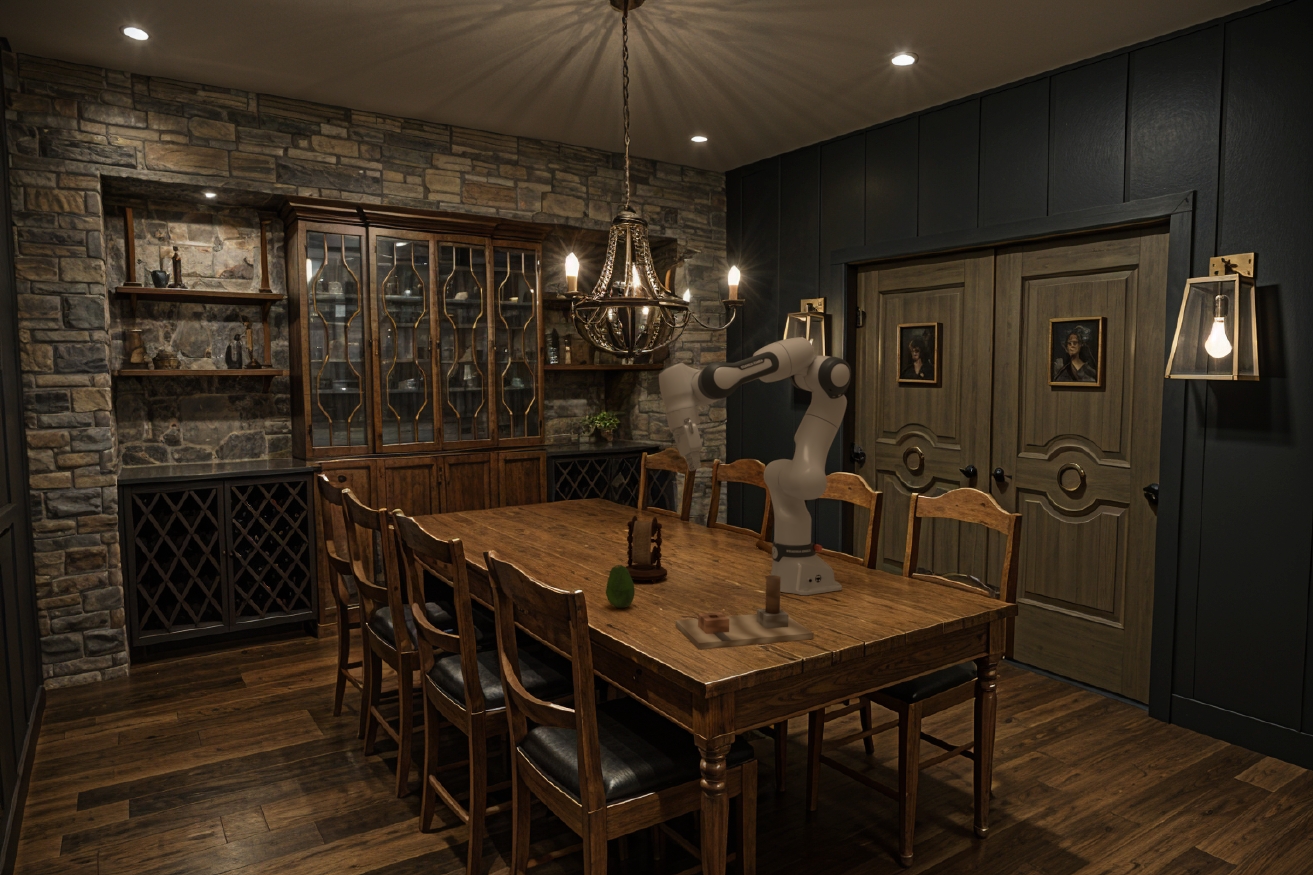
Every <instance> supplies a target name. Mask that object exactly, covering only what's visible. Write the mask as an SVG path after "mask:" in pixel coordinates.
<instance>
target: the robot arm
mask: <svg viewBox="0 0 1313 875" xmlns="http://www.w3.org/2000/svg"><path fill="white" fill-rule="evenodd" d="M851 377H852V369H851V365H850V364H849V363H848V362H847V361H846V360H845V359H842V358H841V357H837V356H828V355H816V354H815V349H814V346H813V344H812V343H811V342H810V340H808V339H807V338H805V337H799V336H798V337H797V336H796V337H792V338H786V339H781V340H777V341H775V342H772V343H769V344H767V345H765V346H763V347H762V348H759V349H758V350H757V351H755V352H754V353H753V354H752V356H750V357H747V358H744V359H742V360H739V361H735V362H725V361H715V362H711V363H709V364H708V365H706V366H705V367H704V368H703V369H698V368H697V369H696V368H693V367H690V366H688V365H686V364H685V363H684V362H676V363H673V364H670V365H668V366H667V367H664V368H663V369H662V370H661V371H660V372H659V374H658V385H659V391H660V395H661V399H662V401H663V404H664V406H665V417H666V420H667V425H668V429H669V431H670V433H671V434H672V435H673V439H674V442H675V445H676V448H677V451H678V454H679V455H680V457H681V458H684V457H685V458H684V459H685V462H686V464H687V467H688V471H690V472H693V471H695V470H698V469H701V468H702V464H701V457H700V456H701V455H700V451H701V450H702V449H703V443H702V440H701V435H700V432H699V429H698V425H700V424H701V420H700V415H699V412H698V406H702V407H703V406H704V407H705V406H709V405H711V404H714V403H716V402H719V400H722V399H725V398H728V397H730V396H731V395H732V394H733V393H734V392H735V391H736V390H737V389H738V388H739V387H740V386H741V385H744V384H747V383H749V382H752V381H754V380H757V379H758V380H760V381H761V382H764V383H773V382H777V381H781V380H784V379H787V378H789V380H790V382H791V384H792V385H793V386H794V387H795V388H796V389H799V390H802V391H808V392H811V400H810V401H811V402H810V404H809V406H808V408H807V410H806V411H805V414H804V416H803V417H802V420H801V422H800V424H799V426H798V428H797V430H796V432H795V434H794V438H793V440H794V442H795V449H794V451H795V452H794V455H793V458H792V459H786V458H780V459H776V460H773V461H771V462H769V463H768V464H767V465H766V466H765V468H764V471H763V480H764V481H763V482H764V484H765V485H766V487H767V488H768V490H769V494H770V498H771V503H772V509H773V516H774V526H773V527H774V528H773V529H774V534H773V536H774V537H773V538H774V539H773V541H772V555H771V556H772V566H771V572H770V575H775V576H780V577H781V582H780V593H781V592H782V593H786V594H788V593H789V594H794V595H795V594H796V595H801V596H808V595H809V596H811V595H816V594H824V593H830V592H838V591H842V590H843V586H842V584H841V583H840V582H838V581H836V580H835V573H834V570H833V568H832V567H831V565H830V564H828V563H827V562H826V561H825V560H823V559H822V558H821V557H820V556H818V554H817V553H816V552H819V553H820V552H822V551H823V546H822V545H820V544H818V543H817V544H815V543H814V542H812V517H811V514H810V512H809V510H808V508H807V505H806V502H805V501H810V500H812V501H813V500H816V499H819V498H821V497H822V496H823V495H824V494H825V492H826V489H827V487H828V479H827V475H826V471H825V470H826V463H827V457H828V454H829V450H830V449H831V446H832V443H833V442H834V439H835V437H836V435H837V433H838V431H839V428H840V426H841V424H842V422H843V419H844V416H845V413H846V409H847V406H848V405H847V404H848V400H847V397H846V396H845V394H846V393H847V391H848V388H849V385H850V383H851V379H852V378H851Z"/></svg>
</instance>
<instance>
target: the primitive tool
mask: <svg viewBox="0 0 1313 875" xmlns="http://www.w3.org/2000/svg"><path fill="white" fill-rule="evenodd" d="M755 547H756V548H757V547H758V548H757V549H760V548H762V549H763V550H762V549H761V550H762V551H764V550H765V551H764V552H765V553H767V552H768V553H767V554H769V553H770V554H769V555H771V554H772V548H773V546H770V545H768V544H766V543H765V542H764V540H763V539H759V540H757V541H756V543H755Z"/></svg>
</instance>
